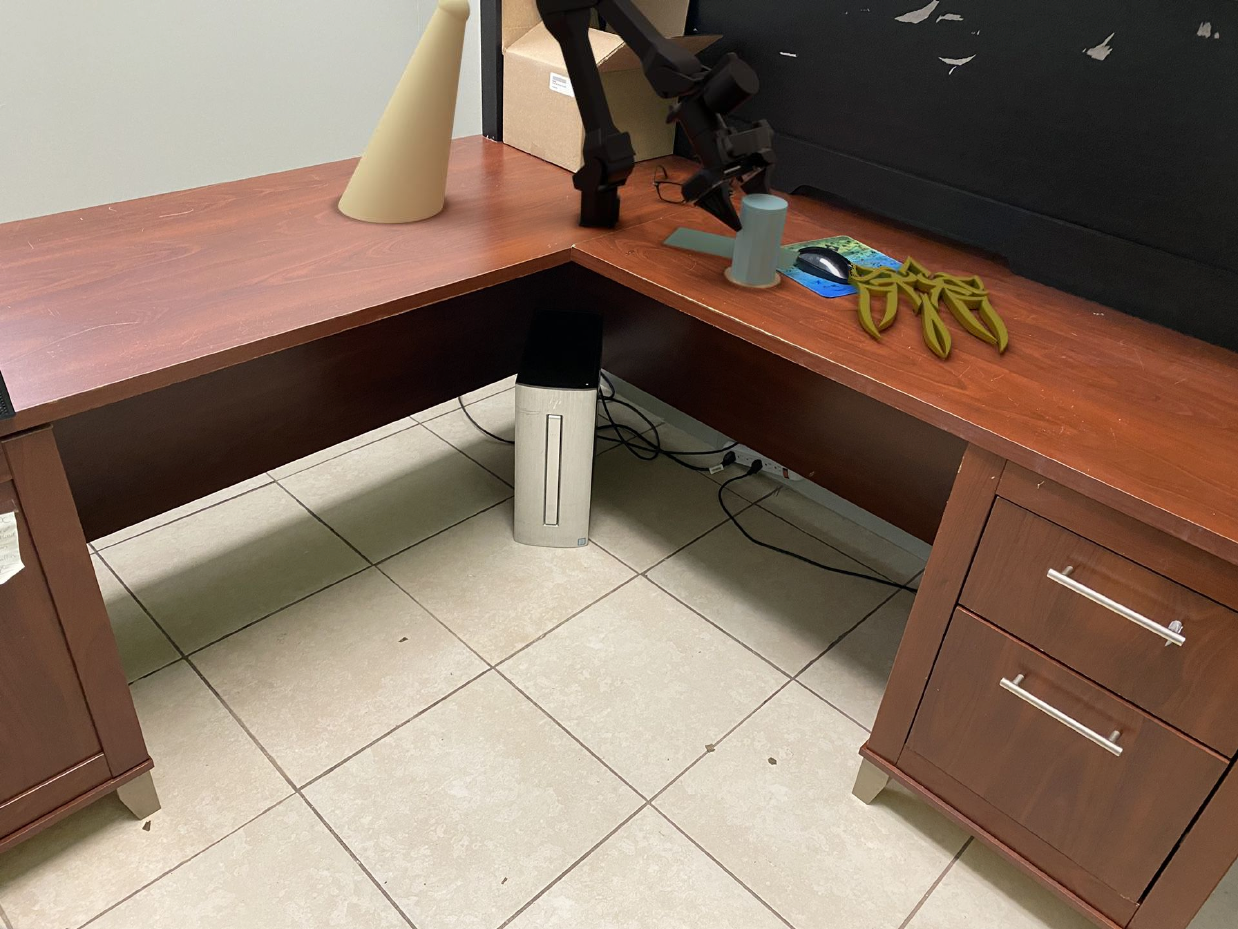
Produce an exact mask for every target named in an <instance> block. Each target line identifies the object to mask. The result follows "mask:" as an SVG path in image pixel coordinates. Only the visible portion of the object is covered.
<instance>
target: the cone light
mask: <svg viewBox="0 0 1238 929" xmlns="http://www.w3.org/2000/svg"><path fill="white" fill-rule="evenodd" d="M470 15H471V6H470V2H469V1H468V0H438V2H437V7H436V9H435V11H433V15H432V17H430V20H429V22H428V24H427V26H426V28H425V30H424V32H423V34H422V36H421V38H420V40H419V42H418V44H417V46H416V48H415V50H414V52H413V54H412V56H411V58H410V60H409V62H408V64H407V66H406V68H405V69H404V72H403V74H402V76H401V79H400V80H399V82H398V84H397V87H396V88H395V90H394V92H393V94H392V96H391V97H390V100H389V102H388V104H387V106H386V108H385V110H384V112H383V114H382V116H381V118H380V120H379V122H378V124H377V126H376V128H375V130H374V132H373V134H372V136H371V138H370V140H369V142H368V144H367V145H366V148H365V149H364V151H363V154H362V156H361V158H360V160H359V162H358V164H357V165H356V168H355V170H354V172H353V174H352V176H351V177H350V179H349V181H348V183H347V186H346V187H345V189H344V192H343V194H342V196H341V198H340V199H339V202H338V205H337V208H338V210H339V212H341V213H342V214H343V215H345V216H347V217H348V218H352V219H354V220H358V221H363V222H369V223H374V224H404V223H412V222H418V221H423V220H426V219H428V218H431V217H433V216H435V215H437V214H439V213H440V212H441V211H442V210H443V208H444V203H445V194H446V187H447V179H448V172H449V171H448V170H449V162H450V155H451V149H452V148H451V147H452V138H453V130H454V123H455V115H456V107H457V98H458V91H459V84H460V83H459V82H460V75H461V67H462V58H463V51H464V42H465V36H466V35H465V33H466V27H467V26H466V25H467V22H468V20H469V18H470Z"/></svg>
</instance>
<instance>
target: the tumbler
mask: <svg viewBox="0 0 1238 929" xmlns="http://www.w3.org/2000/svg"><path fill="white" fill-rule="evenodd" d="M788 207H789V203H788V201H787V200H785V199H784V198H782V197H779V196H776V195H772V194H771V195H767V194H749V195H746V194H745V195H744V196H743V197H742V198H741V201H740V209H739V215H738V217H739V220H740V222H741V225H742V230H740V231H739V232H736V234H735V235H736V236H735V239H736V241H735V248H734V254H733V259H732V261H731V266H732V268H731V276H732V277H733V278H735V279H736V280H738V281H741V282H744V283H747V284H755V285H761V284H769V283H771V282H772V281H774V280H775V274H776V273H777V269H778V268H777V263H778V258H779V252H780V248H782V241H783V235H784V231H785V224H786V219H787V213H788Z"/></svg>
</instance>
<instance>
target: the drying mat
mask: <svg viewBox="0 0 1238 929" xmlns="http://www.w3.org/2000/svg"><path fill="white" fill-rule="evenodd" d="M735 241H736V237H729V236H725V235H721V234H715V233H712V232H711V233H710V232H705V231H701V230H698V229H697V230H696V229H692V228H687V227H683V226H678V228H677V229H676V230H675V231H674V232H673V233H672V234H670V236H669V237H668V238H666V239H665V240H664V241H663V242H662V244H664V245H668V246H673V247H677V248H681V249H686V250H690V251H695V252H699V253H705V254H709V255H714V256H719V257H722V258H727V259H731V260H733V254H734V248H735ZM800 255H801V252H800V251H798V250H797V251H796V250H791V249H787V248H783V247H780V252H779V258H778V263H777V269H778V270H783V271H788V272H789V271H790V270H791V268H792V267H793V265H794V263H795V262H796V261H797V259H798V258H799V256H800Z"/></svg>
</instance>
